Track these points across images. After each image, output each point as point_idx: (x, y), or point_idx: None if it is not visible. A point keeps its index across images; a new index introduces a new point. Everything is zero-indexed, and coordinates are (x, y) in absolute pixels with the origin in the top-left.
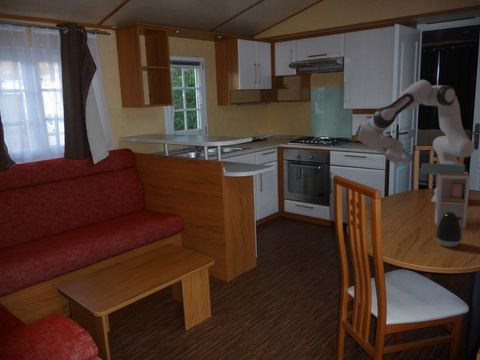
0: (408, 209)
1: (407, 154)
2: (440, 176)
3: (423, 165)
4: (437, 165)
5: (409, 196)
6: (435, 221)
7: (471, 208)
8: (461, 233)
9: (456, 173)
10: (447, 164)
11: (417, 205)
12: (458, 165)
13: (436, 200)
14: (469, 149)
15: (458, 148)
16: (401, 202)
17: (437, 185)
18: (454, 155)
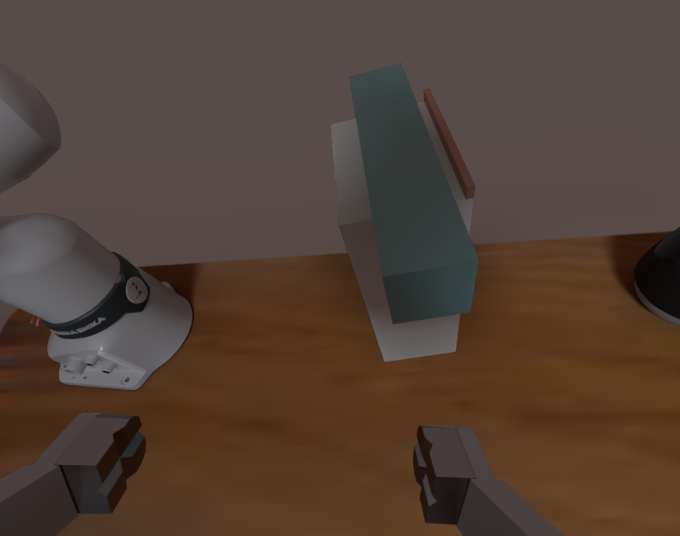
0: (252, 484)
1: (121, 461)
2: (471, 202)
3: (472, 254)
4: (438, 162)
5: None
6: (414, 355)
7: (222, 269)
8: None
9: (444, 124)
10: (388, 122)
11: (188, 443)
12: (407, 80)
13: (391, 319)
14: (41, 94)
15: (3, 120)
16: (134, 531)
17: (380, 276)
18: (10, 183)
